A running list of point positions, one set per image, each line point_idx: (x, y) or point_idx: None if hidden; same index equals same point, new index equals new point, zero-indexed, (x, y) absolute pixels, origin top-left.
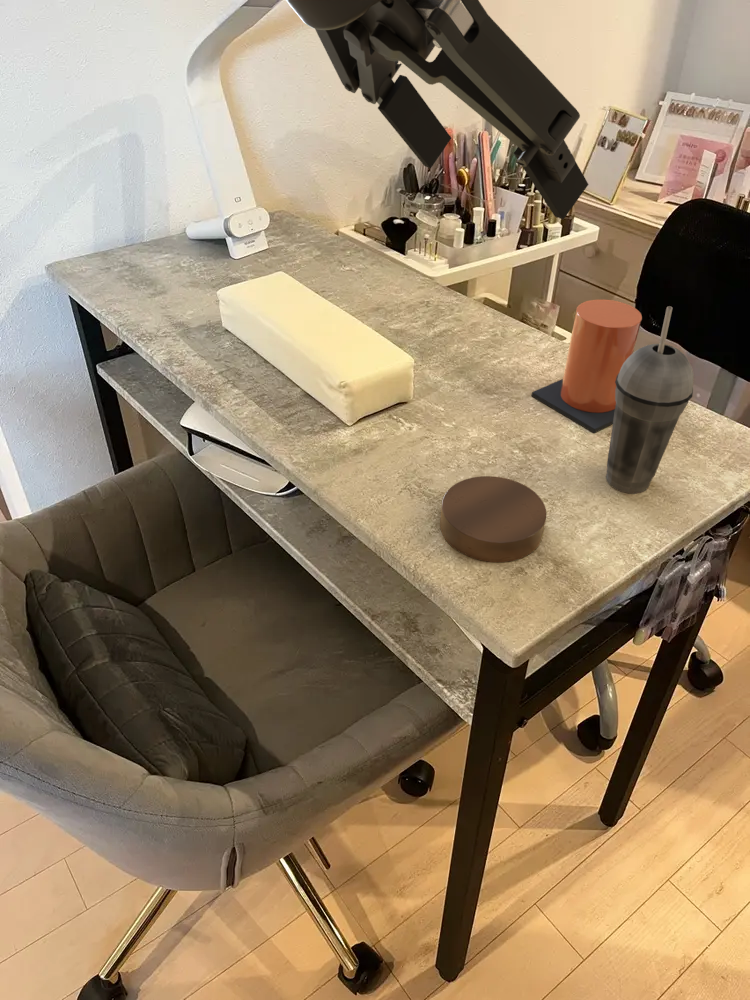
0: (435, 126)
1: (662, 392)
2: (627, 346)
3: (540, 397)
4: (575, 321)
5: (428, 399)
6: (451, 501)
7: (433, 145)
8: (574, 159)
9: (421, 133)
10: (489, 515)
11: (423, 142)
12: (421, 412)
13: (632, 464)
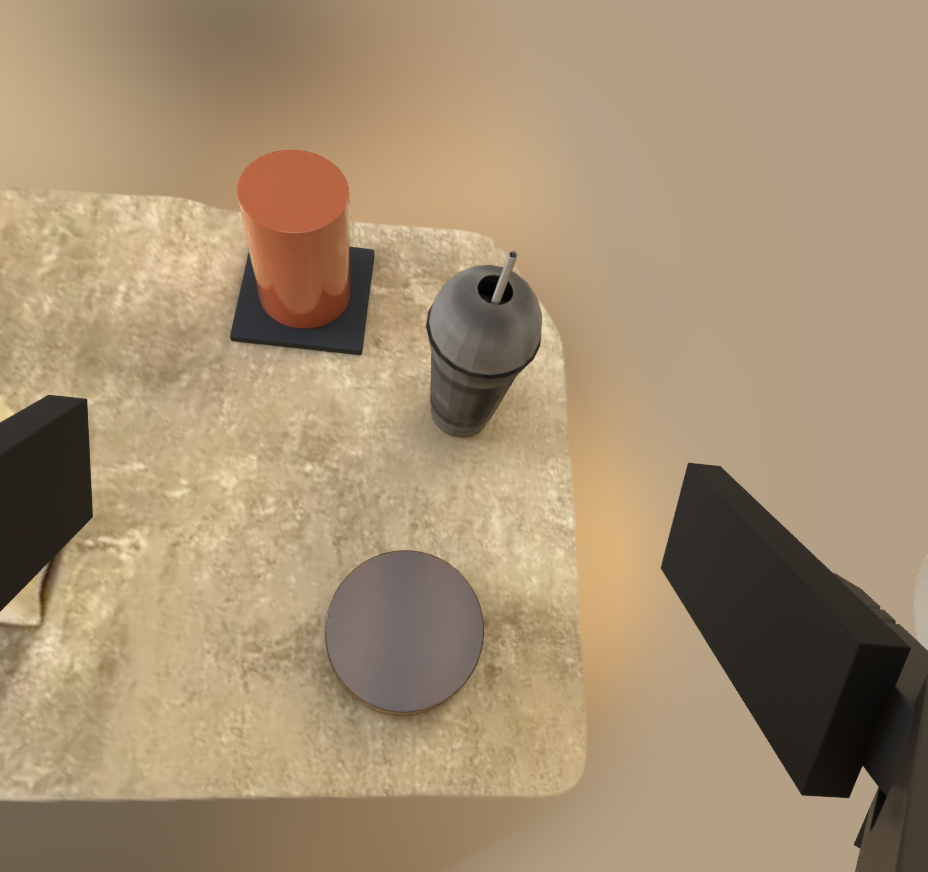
0: (41, 454)
1: (526, 353)
2: (348, 227)
3: (249, 338)
4: (255, 231)
5: (101, 461)
6: (351, 669)
7: (66, 484)
8: (859, 589)
9: (25, 529)
10: (414, 647)
11: (44, 528)
12: (118, 498)
13: (484, 416)
